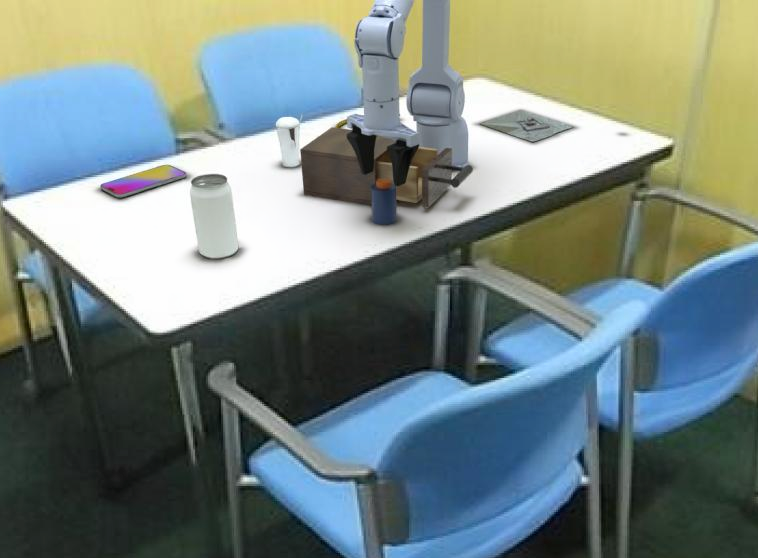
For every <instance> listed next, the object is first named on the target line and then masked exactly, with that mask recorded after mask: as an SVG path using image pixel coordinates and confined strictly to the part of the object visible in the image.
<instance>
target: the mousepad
mask: <svg viewBox="0 0 758 558" xmlns="http://www.w3.org/2000/svg"><path fill="white" fill-rule="evenodd" d="M478 124H479V125H480V126H481V125H482V126H485V127H488V128H490V129H494V130H497V131H499V132H503V133H505V134H508V135H511V136H513V137H517V138H520V139H523V140H526V141H528V142H532V143H534V142H537V141H541V140H543V139H545V138H549V137H552V136H555V135H556V134H557V133H560V132H563V131H565V130H569V129H572V128H574V126H573V125H569V124H567V123H566V124H565V123H562V122H560V121H557V120H553V119H550V118H547V117H543V116H541V115H537V114H534V113H531V112H528V111H524V110H522V109H520V110H517V111H513V112H509V113H506V114H505V115H500V116H498V117H493V118H491V119H489V120H485V121H481V122H479V123H478Z"/></svg>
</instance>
